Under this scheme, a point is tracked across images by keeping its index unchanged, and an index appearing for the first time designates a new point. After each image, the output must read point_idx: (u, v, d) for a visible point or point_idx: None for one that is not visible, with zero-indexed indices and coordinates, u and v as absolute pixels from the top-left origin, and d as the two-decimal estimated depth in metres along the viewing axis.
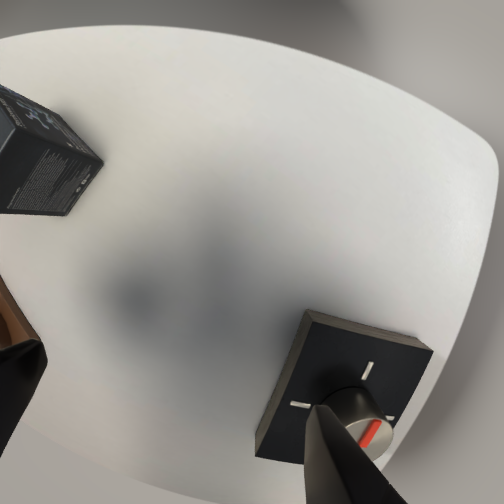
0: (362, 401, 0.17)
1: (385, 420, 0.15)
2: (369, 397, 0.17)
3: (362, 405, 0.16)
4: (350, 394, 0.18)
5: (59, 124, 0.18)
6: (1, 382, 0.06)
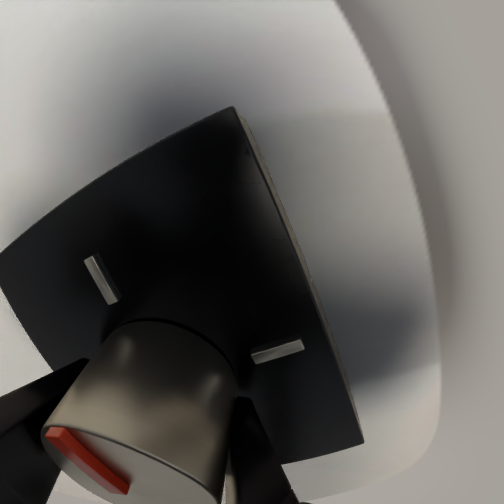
0: (87, 368, 0.06)
1: (86, 426, 0.04)
2: (123, 344, 0.07)
3: (75, 382, 0.06)
4: (95, 353, 0.07)
5: None
6: None
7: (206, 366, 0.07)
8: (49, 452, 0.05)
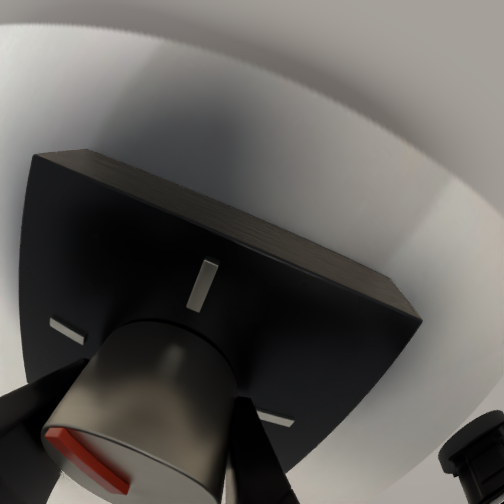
0: (86, 369, 0.06)
1: (84, 426, 0.04)
2: (122, 345, 0.07)
3: (74, 384, 0.06)
4: (95, 354, 0.07)
5: None
6: None
7: (205, 365, 0.07)
8: (50, 453, 0.05)
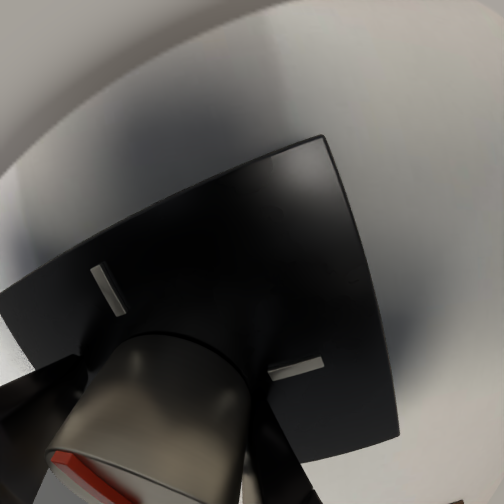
0: (94, 385, 0.06)
1: (95, 453, 0.04)
2: (134, 361, 0.06)
3: (81, 401, 0.05)
4: None
5: None
6: (44, 406, 0.06)
7: (221, 385, 0.07)
8: (53, 470, 0.04)
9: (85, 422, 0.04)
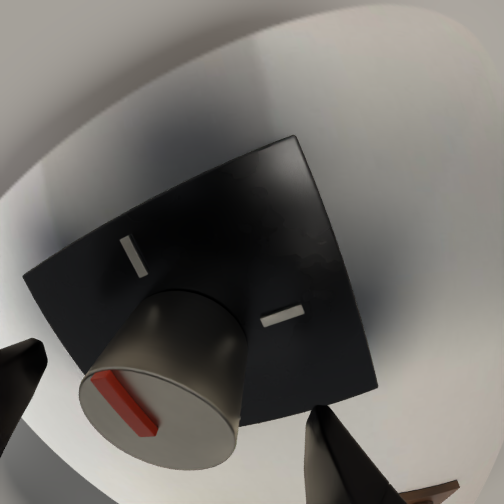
0: (123, 328, 0.08)
1: (130, 366, 0.06)
2: (155, 308, 0.08)
3: (112, 339, 0.07)
4: None
5: None
6: (1, 382, 0.06)
7: (224, 326, 0.09)
8: (84, 404, 0.07)
9: (119, 348, 0.07)
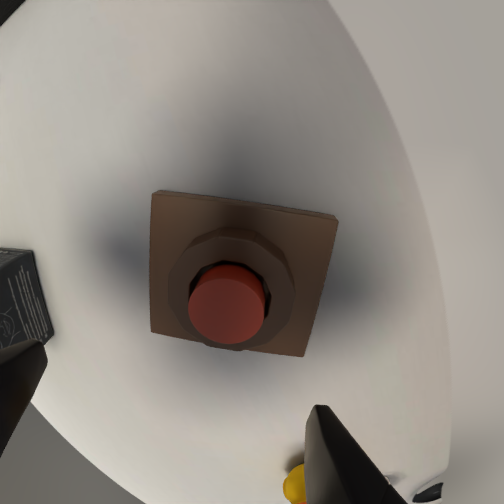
0: None
1: None
2: None
3: None
4: None
5: None
6: (1, 382, 0.06)
7: None
8: None
9: None
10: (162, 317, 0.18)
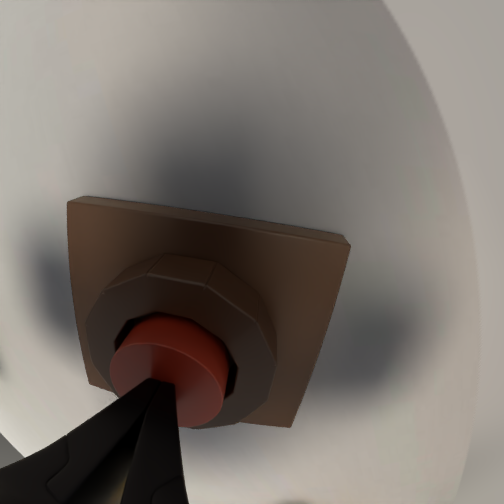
0: None
1: None
2: None
3: None
4: None
5: None
6: (131, 441, 0.06)
7: None
8: None
9: None
10: None
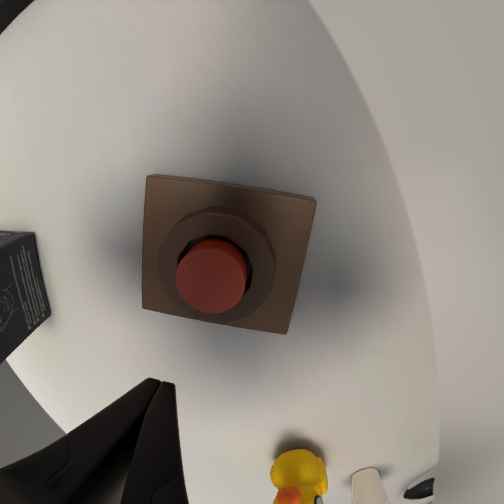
0: None
1: None
2: None
3: None
4: None
5: None
6: (131, 441, 0.06)
7: None
8: None
9: None
10: (153, 293, 0.19)
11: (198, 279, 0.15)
